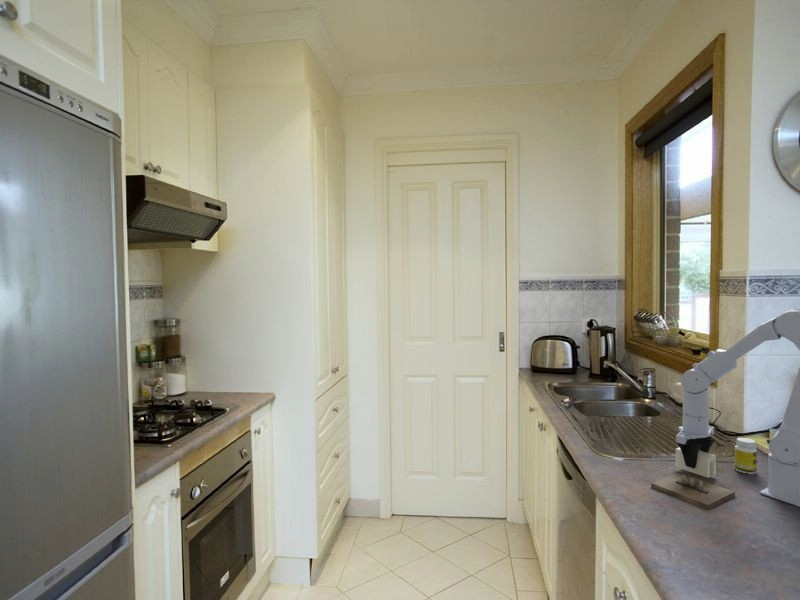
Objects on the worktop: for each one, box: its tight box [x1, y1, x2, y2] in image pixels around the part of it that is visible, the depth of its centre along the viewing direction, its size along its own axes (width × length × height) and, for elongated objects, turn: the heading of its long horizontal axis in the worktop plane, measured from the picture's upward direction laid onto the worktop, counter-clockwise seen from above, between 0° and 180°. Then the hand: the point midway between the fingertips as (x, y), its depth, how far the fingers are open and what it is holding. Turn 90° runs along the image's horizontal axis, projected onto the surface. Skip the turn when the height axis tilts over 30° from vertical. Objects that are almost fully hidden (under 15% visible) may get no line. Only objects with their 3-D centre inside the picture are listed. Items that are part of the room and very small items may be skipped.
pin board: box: [650, 472, 736, 510], centre depth 110 cm, size 13×12×3 cm
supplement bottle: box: [734, 437, 758, 475], centre depth 120 cm, size 5×5×8 cm
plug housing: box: [675, 446, 717, 479], centre depth 119 cm, size 8×4×5 cm, turn 29°
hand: (695, 465), depth 119 cm, fingers closed on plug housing, 4 cm apart
